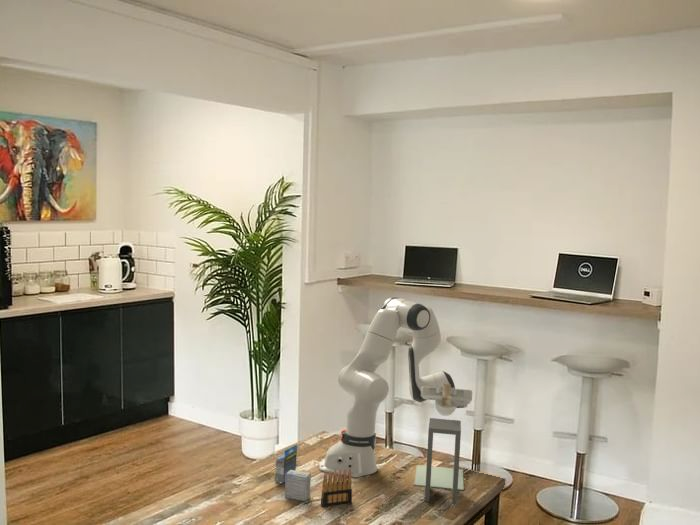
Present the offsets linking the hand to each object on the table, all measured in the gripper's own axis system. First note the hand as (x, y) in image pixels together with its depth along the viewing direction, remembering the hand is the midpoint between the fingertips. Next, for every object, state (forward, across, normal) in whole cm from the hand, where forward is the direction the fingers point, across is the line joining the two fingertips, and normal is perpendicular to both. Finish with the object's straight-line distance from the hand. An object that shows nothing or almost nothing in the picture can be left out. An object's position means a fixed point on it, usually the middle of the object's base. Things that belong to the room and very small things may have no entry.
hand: (446, 389), depth 266 cm
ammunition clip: (+21, -35, +49) cm, 64 cm away
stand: (+7, 0, +41) cm, 42 cm away
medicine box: (+19, -49, +48) cm, 71 cm away
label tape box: (+6, -57, +41) cm, 70 cm away
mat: (-8, -1, +32) cm, 33 cm away
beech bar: (+5, 0, +5) cm, 7 cm away
